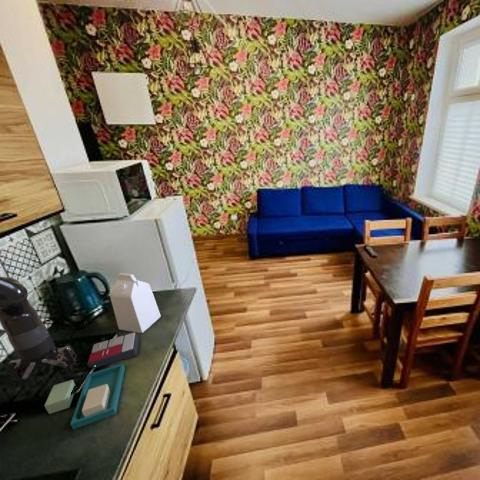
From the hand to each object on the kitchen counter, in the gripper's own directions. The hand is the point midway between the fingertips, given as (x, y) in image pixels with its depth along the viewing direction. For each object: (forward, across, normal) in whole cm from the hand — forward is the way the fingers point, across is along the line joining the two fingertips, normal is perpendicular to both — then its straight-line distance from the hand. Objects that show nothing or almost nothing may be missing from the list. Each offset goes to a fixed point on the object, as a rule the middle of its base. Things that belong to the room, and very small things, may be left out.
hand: (52, 378), depth 84 cm
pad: (+10, +11, -8) cm, 16 cm away
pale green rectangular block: (+10, 0, 0) cm, 10 cm away
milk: (+11, +18, +34) cm, 40 cm away
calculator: (+10, +12, +17) cm, 23 cm away
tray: (+10, +11, -3) cm, 15 cm away
